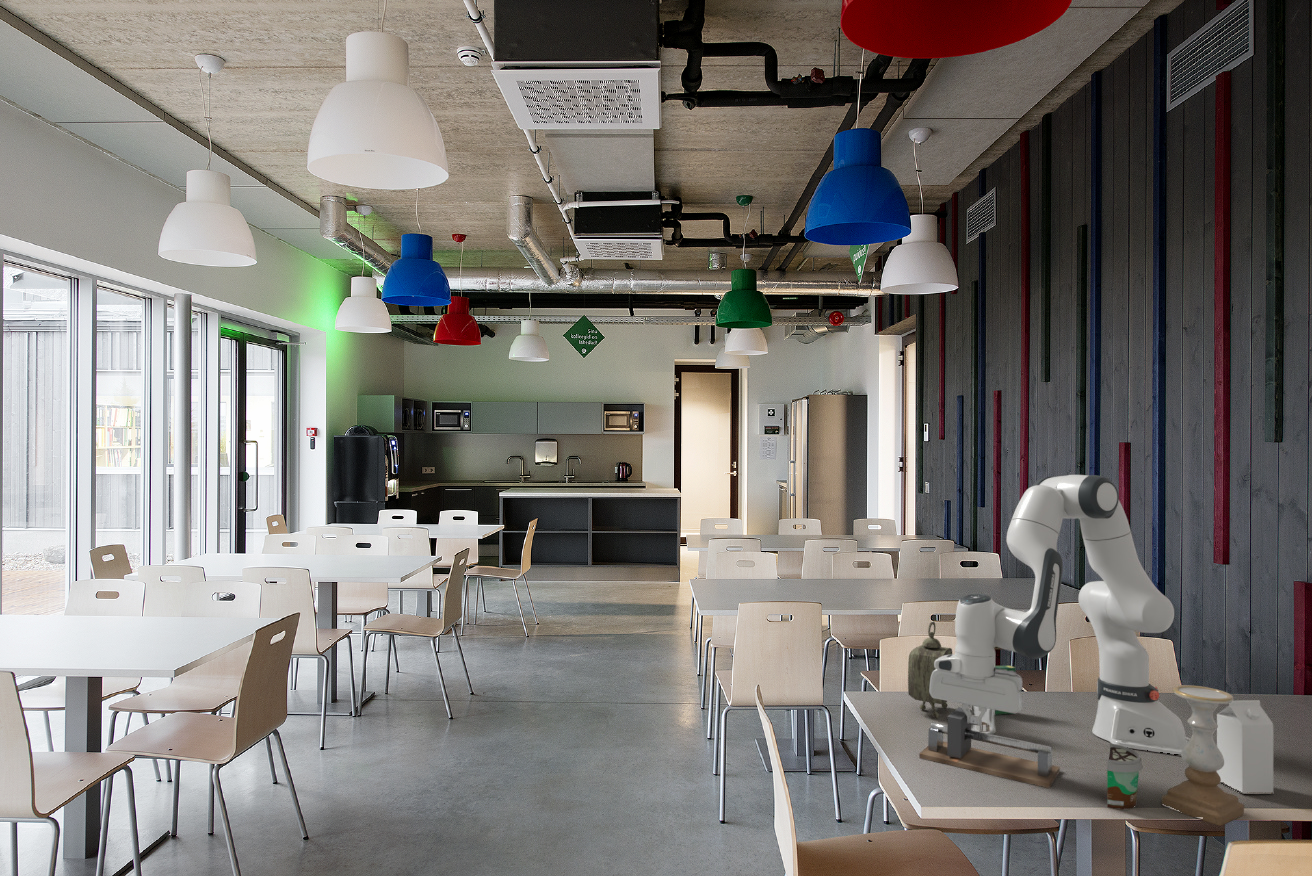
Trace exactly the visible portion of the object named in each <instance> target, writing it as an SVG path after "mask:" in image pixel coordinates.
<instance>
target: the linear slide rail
mask: <svg viewBox="0 0 1312 876" xmlns="http://www.w3.org/2000/svg"><path fill="white" fill-rule="evenodd" d="M944 734H946V735H947V734H948V724H943V723H938V722H934V721H932V722H931V723H930V727H929V728H928V733H927V736H928V737H927V738H928V742H927V745H928V750H929V751H934V752H938V751H939V750H940V749H941V748H942V747H943V741H944ZM965 738H968V739H971V741H972V740H973V741H978V742H982V743H988V744H993V745H996V746H1001V747H1005V748H1011V749H1015V750H1021V751H1025V752H1029V753H1030V752H1031V753H1034V754H1037V762H1038V775H1039V776H1043V777H1048V776H1049V774H1050V773H1051V771H1052V765H1053V748H1052V747H1051V746H1049V745H1046V744H1045V745H1044V744H1040V743H1034V742H1030V741H1024V740H1020V739H1015V738H1010V737H1006V736H1001V735H996V734H987V733H982V732H977V731H973V730H968V729H965Z"/></svg>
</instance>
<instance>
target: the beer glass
mask: <svg viewBox="0 0 1312 876" xmlns="http://www.w3.org/2000/svg"><path fill="white" fill-rule="evenodd" d="M980 713H981V712H980V711H979V707H977V706H972V705H971V714H972V715H975V716H979V714H980ZM995 716H996V715H995V710H993V709H988V708H987V711H986V712H985V714H984V715H983V717H982V725H981V726H977V725H973V724H971V730H973V731H977V732H982V733H987V734H992V735H995V733H996V732H997V728H996V722H995Z"/></svg>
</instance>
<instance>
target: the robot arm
mask: <svg viewBox="0 0 1312 876" xmlns="http://www.w3.org/2000/svg"><path fill="white" fill-rule="evenodd" d="M1119 497H1120V496H1119V491H1118V488H1117V486H1116V485H1115V484H1114V482H1112V480H1111V479H1110V478H1107V477H1105V476H1102V475H1096V474H1092V475H1090V474H1089V475H1088V474H1087V475H1085V474H1068V475H1059V476H1046V477H1042V478H1040V479H1037V480H1036V481H1035V482H1034V483H1033V484H1032V485H1031V486H1030V487H1028V488H1027V489H1026V490H1025V491H1024V493H1023V495H1022V496H1021V498H1020V500H1019V502H1018V504H1017V506H1016V508H1015V510H1014V513H1013V515H1012V517H1011V520H1010V523H1009V526H1008V529H1007V532H1006V544H1007V548H1008V549H1009V550H1010V551H1009V552H1010V553H1011V554H1012V555H1013V556H1014V557H1015V558H1016V559H1018V561H1020V562H1021V563H1022V564H1025V565H1026V566H1028V567H1030V568H1031V570H1032V571H1033V573H1034V577H1035V579H1034V581H1035V582H1034V588H1033V594H1032V600H1031V606H1030V609H1028V611H1021V610H1017V609H1013V608H1009V607H1006V606H1003V605H1001V604H999V603H997V602H995V601H994V600H993V598H992V597H991V596H990V595H988V594H982V593H977V594H976V593H975V594H974V593H973V594H972V593H971V594H966V595H964V596H962V597H961V598H959V600H958V602H957V605H956V611H955V620H954V625H955V626H954V632H955V633H954V634H955V636H956V643H955V646H954V653H952V654H951V655H944V656H941V657H939V658H938V659H936V660H935V662H934V667H935V668H936V669H935V670H934V671H933V672H932V674H931V679H930V689H929V692H930V695H931V696H932V698H935V699H940V700H946V701H947V702H952V703H957V704H961V708H962V709H963V711H964V712H965V714H966V716H967V723H968V724H973V725H977V726H981V725H982V717H983V715H984V714H985V712H986V711H987V708H988V709H993V710H998V711H1004V712H1009V713H1014V714H1017V713H1019V712H1020V711H1021V710H1022V708H1023V700H1022V692H1021V691H1022V689H1023V684H1024V683H1023V678H1022V676H1021V675H1020V674H1018V673H1017V671H1016V672H1014V671H1007V670H1003V669H998V668H995V666H996V650H995V648H1000V649H1002V650H1005V651H1008V652H1013V653H1017V654H1019V655H1021V656H1024V657H1027V658H1029V659H1031V660H1032V659H1033V660H1039V659H1042V658H1043V657H1046V655H1048V654H1050V653H1051V651H1052V650H1053V649H1054V647H1055V645H1056V642H1057V614H1058V607H1059V603H1060V602H1059V601H1060V593H1061V586H1062V580H1063V568H1064V566H1063V565H1064V564H1063V558H1062V555H1061V554H1060V553H1059V552H1058V549H1057V547H1058V546H1057V544H1058V538H1059V535H1060V532H1061V528H1062V525H1063V524H1062V523H1063V519H1069V520H1074V519H1075V520H1076V519H1078V520H1079V525H1080V531H1081V536H1082V539H1083V545H1084V547H1085V551H1086V557H1087V561H1088V564H1089V566H1090V567H1091V569H1092V570H1093V571H1094V572H1095V573H1096V574H1097V575H1098V576H1099V577H1100V578H1101V579H1102V580H1096V581H1095V580H1094V581H1089V582H1087V583H1085V584H1084V585H1083V586H1082V587H1081V589H1080V590H1079V593H1078V596H1077V598H1078V605H1079V607H1080V609H1081V611H1082V612H1083V613H1084V615H1085V616H1086V617H1087V619H1088V620H1089V623H1090V624H1091V626H1092V629H1093V632H1094V635H1095V639H1096V642H1097V646H1098V657H1099V658H1098V659H1099V660H1098V663H1099V664H1098V665H1099V667H1098V668H1099V676H1098V678H1097V682H1096V696H1097V700H1098V703H1097V711H1096V716H1095V720H1094V723H1093V726H1092V729H1091V730H1092V731H1091V732H1092V734H1093V735H1095V736H1096V737H1099V738H1101V739H1102V740H1105V741H1107V742H1110V743H1112V744H1116V745H1120V746H1124V747H1128V748H1129V749H1132V750H1133V749H1135V750H1142V751H1147V750H1148V751H1147V752H1155V753H1160V752H1163V753H1162V754H1167V753H1170V754H1169V755H1174V754H1181V752H1182V749H1183V747H1184V746H1185V745H1186V743H1187V742H1188V741H1189V740H1190V738H1191V737H1187V736H1186V731H1185V727H1184V725H1183V722H1182V720H1181V718H1180V717H1179V716H1178V715H1176V714H1175V713H1174V712H1173V711H1171V710H1170V709H1169V708H1168V707H1167V706H1165V705H1164V704H1163V703H1162V702H1160V701H1159V698H1160V692H1159V689H1158V687H1157V686H1154V685H1152V684H1151V683H1150V656H1149V655H1150V654H1149V653H1148V651H1147V649H1146V648H1145V647H1144V646H1143V645H1142V643H1141V642H1140V640H1139V638H1138V637H1137V634H1136V632H1138V633H1146V634H1159V633H1163V632H1166V631H1167V630H1168V629H1169V628H1170V627H1171V626H1172V624H1173V622H1174V619H1175V608H1174V604H1172V602H1171V600H1170V599H1169V598H1168V597H1167V596H1166V595H1164V594H1163V593H1162V592H1161V591H1160V590H1159V589H1158V588H1157V587H1156V586H1155V584H1154V582H1153V581H1152V580H1151V579H1150V577H1149V576H1148V574H1147V573H1146V571H1145V569H1144V568H1143V566H1142V564H1141V562H1140V560H1139V557H1138V553H1137V549H1136V546H1135V543H1134V539H1133V535H1132V531H1131V527H1130V524H1129V519H1128V517H1127V515H1126V513H1125V510H1124V508H1123V505H1122V503H1121V501H1120V499H1119ZM1015 675H1016V676H1015ZM971 705H972V706H977V707H979V711H980V712H981V713H980V714H979V716H975V715H973V713H972V711H971V712H970V710H971V708H972V706H971ZM969 709H970V710H969ZM1014 714H1013V715H1014Z"/></svg>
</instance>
